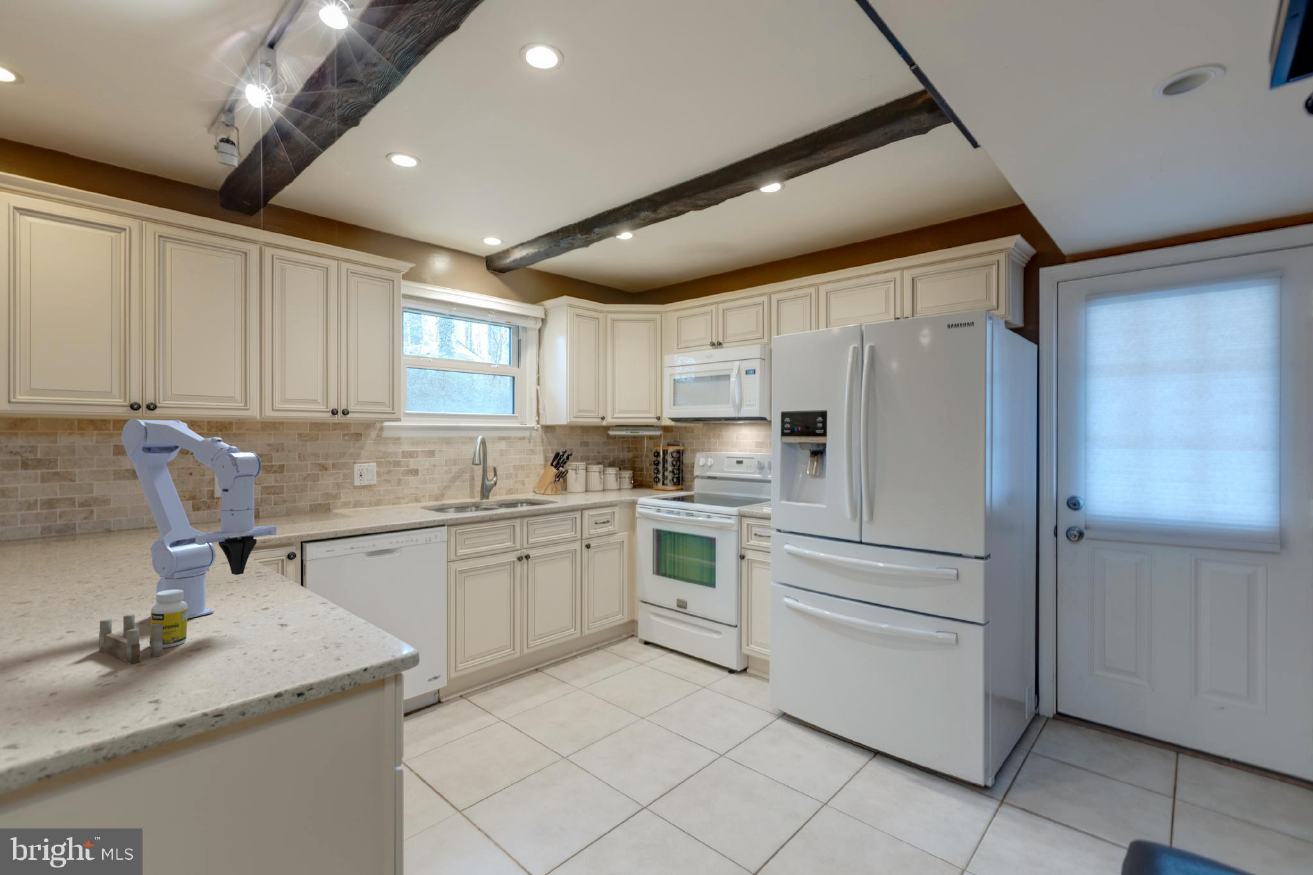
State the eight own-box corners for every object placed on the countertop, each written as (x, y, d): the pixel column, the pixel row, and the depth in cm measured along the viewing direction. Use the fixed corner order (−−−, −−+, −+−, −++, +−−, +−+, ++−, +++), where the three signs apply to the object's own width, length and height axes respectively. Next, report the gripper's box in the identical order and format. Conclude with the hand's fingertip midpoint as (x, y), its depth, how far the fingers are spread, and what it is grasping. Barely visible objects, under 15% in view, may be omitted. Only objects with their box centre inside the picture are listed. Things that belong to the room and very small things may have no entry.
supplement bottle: (143, 650, 108) (145, 596, 108) (157, 640, 113) (158, 589, 113) (179, 647, 110) (181, 594, 110) (191, 637, 115) (193, 587, 115)
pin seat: (97, 650, 108) (97, 620, 108) (131, 642, 112) (131, 613, 112) (130, 664, 102) (130, 632, 102) (165, 655, 106) (165, 624, 106)
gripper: (207, 514, 116) (207, 583, 116) (284, 507, 129) (284, 569, 129) (190, 512, 119) (189, 579, 119) (266, 504, 132) (266, 565, 132)
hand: (237, 573), depth 124 cm, fingers closed
